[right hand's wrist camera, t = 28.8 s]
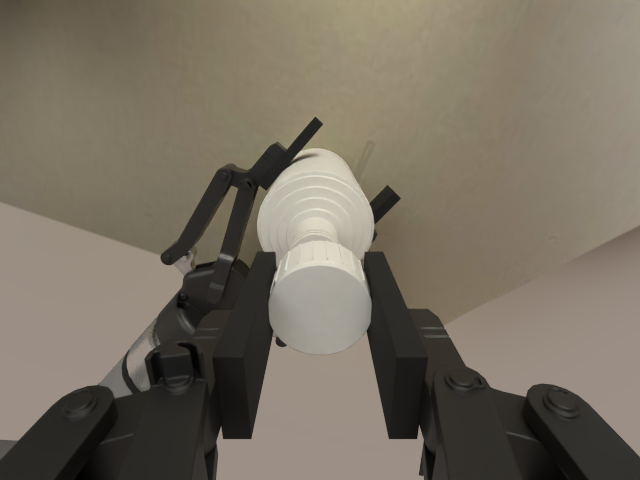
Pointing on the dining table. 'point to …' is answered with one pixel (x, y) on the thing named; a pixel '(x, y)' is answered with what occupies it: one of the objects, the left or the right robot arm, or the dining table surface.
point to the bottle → (315, 206)
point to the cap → (320, 299)
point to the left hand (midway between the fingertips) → (357, 157)
